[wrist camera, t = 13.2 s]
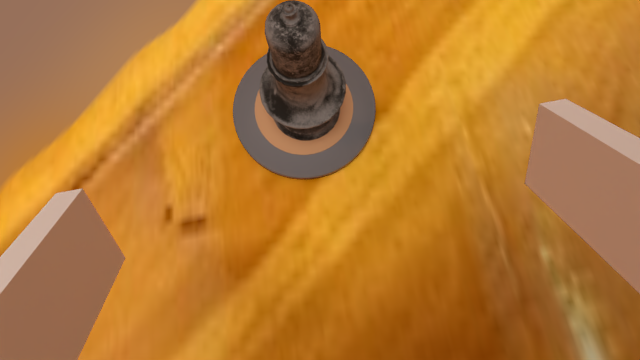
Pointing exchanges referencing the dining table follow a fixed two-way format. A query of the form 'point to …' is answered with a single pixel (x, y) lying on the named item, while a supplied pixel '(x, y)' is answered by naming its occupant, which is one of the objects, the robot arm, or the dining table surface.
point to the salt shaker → (300, 74)
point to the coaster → (296, 154)
